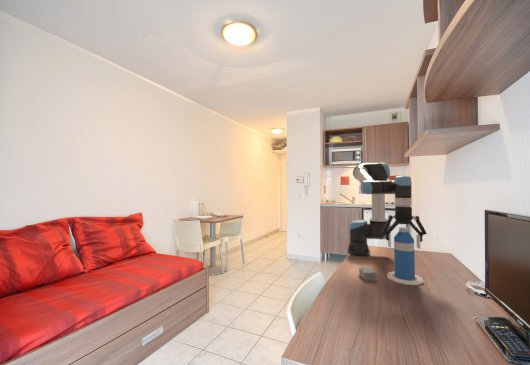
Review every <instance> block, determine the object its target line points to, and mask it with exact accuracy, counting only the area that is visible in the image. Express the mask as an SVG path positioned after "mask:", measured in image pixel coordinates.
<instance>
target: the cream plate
mask: <svg viewBox="0 0 530 365" xmlns="http://www.w3.org/2000/svg"><path fill="white" fill-rule="evenodd" d="M386 278H388V280H390V281H392V282H393V283H397V284H400V285H405V286H420V285H421V286H422V285H423V283H424V278H423V277H422V276H419V275H417V274H415V279H413V280H406V279H400V278H398V277H395V270H394V271H389V272H387V273H386Z"/></svg>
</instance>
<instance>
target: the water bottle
mask: <svg viewBox="0 0 530 365" xmlns="http://www.w3.org/2000/svg"><path fill="white" fill-rule="evenodd" d="M398 229H399V231H398V232H397V233H396V234H395V236H393V248H394V250H393V251H394V254H393V257H394V259H393V260H394V271H395V277H398V278H400V279H406V280H413V279H415V275H416V270H415V269H416V268H415V267H416V266H415V263H416V262H415V261H416V259H415V239H414V237H412V235H411V234H410V232H409V227H407V226H405V227H404V226H400V227H398Z"/></svg>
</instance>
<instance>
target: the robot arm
mask: <svg viewBox="0 0 530 365" xmlns="http://www.w3.org/2000/svg"><path fill="white" fill-rule="evenodd" d="M352 176H353V178H354V179H356V181H358V182H359V184H360V188H359V189H360V193H361V194H363V195H364V194H365V195H371V218H369V222H368V221H367V220H366V219H359V220H358V219H357V220H352V221H351V222H350V223H349V242H348V246H347V250H346V251H347V254H349V255H352V256H357V257H359V256H360V257H366V256H370V255H371V250H370V248H369V245H368V240H386V241H387V246H388V248H391V247H392V238H391V237H392V235H391V233H392V232H393V230H394V229H395V228H396V227H397V226H398V225H409V226H410V227H411V229H413V230H414V231H415V232H416V233H417V234H416V235H415V236H416V248H417V249H421V243H422V242H423V236H424V235H427V231H426V229H425V228H424V226H423V224H422V222H421V221H420V216H419V215H413V212H412V211H413V210H412V209H413V208H412V204H413V202H412V200H413V198H412V196H413V195H412V193H413V192H412V183H413V182H412V177H411V176H408V175H403V176H401V175H399V176H395V177H394V180H389V179H390V178H391V170H390V166H389V165H388V164H387V163H386V162H364V163H360V164H357V165H356V166H355V167H354V168H353V169H352ZM386 195H394V205H395V207H394V213H395V214H394V215H391V214H389V215H388V217H387V218H386ZM393 220H394V221H393ZM412 220H414V221H415V223H416V225H417V226H418V227H417V226H416V225H415V224H414V223H413V221H412ZM392 221H393V223H392ZM391 223H392V224H391Z"/></svg>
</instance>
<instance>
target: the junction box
mask: <svg viewBox="0 0 530 365" xmlns="http://www.w3.org/2000/svg"><path fill="white" fill-rule="evenodd" d="M358 275H359V276H360V277H361V279H363V281H365V282H377V281H378V273H377V272H376V271H375V270H374V269H373V268H371V267H362V266H361V267H359V272H358Z"/></svg>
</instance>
